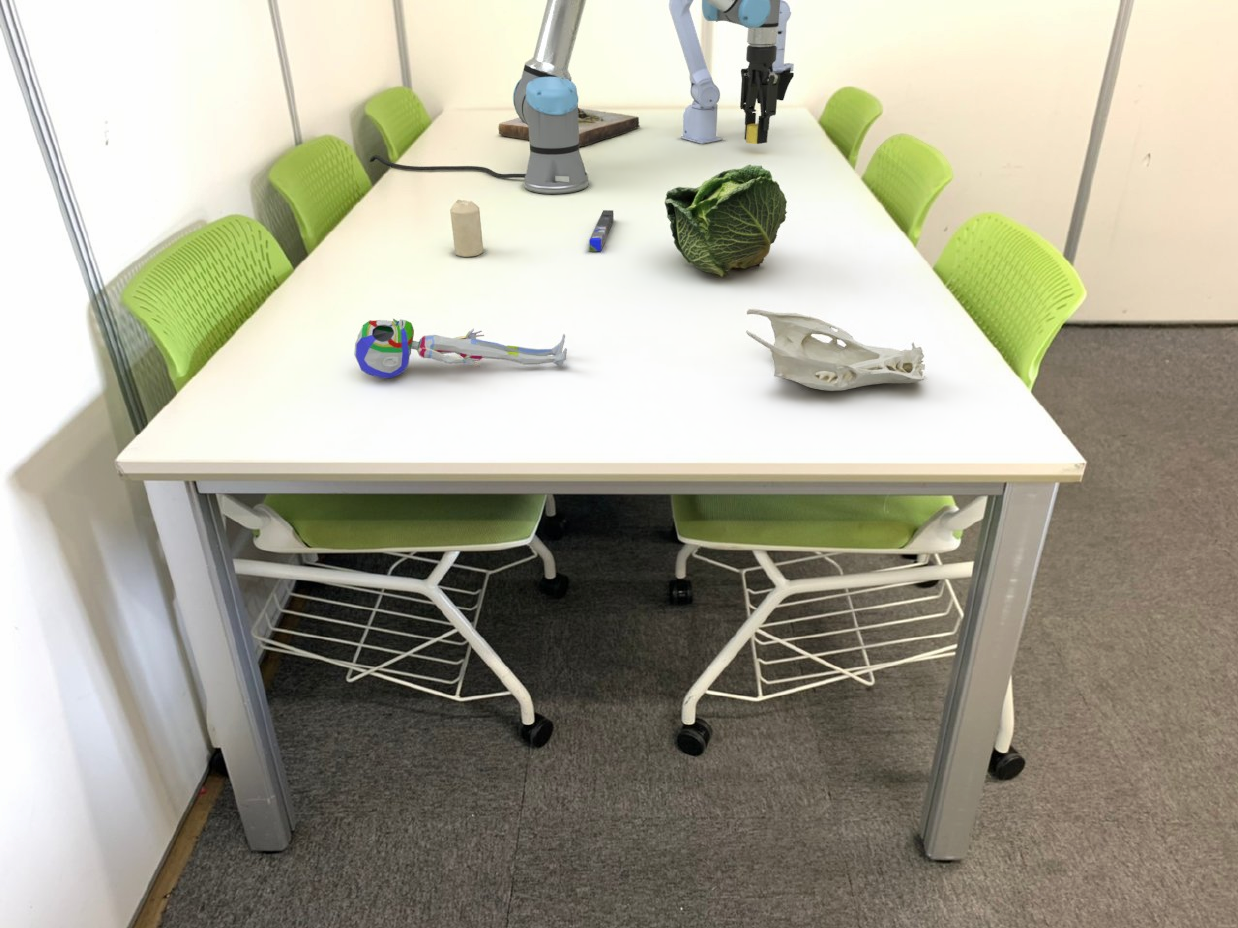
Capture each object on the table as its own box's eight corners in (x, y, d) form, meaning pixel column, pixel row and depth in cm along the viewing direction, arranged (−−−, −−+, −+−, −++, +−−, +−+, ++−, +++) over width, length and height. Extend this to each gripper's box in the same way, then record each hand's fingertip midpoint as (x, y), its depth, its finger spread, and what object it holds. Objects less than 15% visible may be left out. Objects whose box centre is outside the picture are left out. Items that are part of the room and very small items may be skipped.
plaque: (578, 121, 243) (496, 109, 258) (578, 149, 246) (497, 135, 261) (641, 104, 264) (562, 94, 278) (641, 129, 267) (563, 118, 282)
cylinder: (753, 145, 235) (754, 128, 233) (742, 141, 238) (743, 124, 236) (767, 142, 237) (768, 126, 235) (756, 139, 240) (757, 122, 238)
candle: (488, 249, 176) (483, 198, 171) (475, 258, 172) (470, 206, 167) (463, 246, 178) (457, 196, 173) (450, 255, 174) (443, 204, 168)
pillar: (613, 210, 190) (600, 241, 173) (613, 220, 191) (600, 251, 174) (603, 210, 190) (589, 240, 173) (603, 220, 191) (589, 251, 174)
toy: (569, 347, 126) (349, 329, 122) (563, 400, 131) (350, 385, 126) (565, 318, 135) (359, 301, 130) (559, 369, 139) (360, 354, 134)
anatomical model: (747, 299, 130) (925, 301, 126) (745, 356, 135) (916, 360, 131) (744, 342, 118) (940, 346, 114) (742, 403, 123) (930, 410, 119)
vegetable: (694, 294, 173) (643, 202, 166) (775, 239, 175) (728, 145, 167) (734, 307, 155) (678, 205, 147) (824, 245, 156) (773, 141, 149)
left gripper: (796, 47, 220) (788, 145, 233) (752, 40, 233) (747, 133, 246) (772, 50, 217) (764, 149, 230) (729, 42, 230) (724, 136, 243)
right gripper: (766, 53, 237) (762, 107, 245) (803, 47, 245) (798, 100, 252) (747, 50, 242) (744, 103, 249) (784, 45, 249) (780, 97, 257)
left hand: (755, 140), depth 238 cm, fingers closed on cylinder, 5 cm apart
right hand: (770, 101), depth 251 cm, fingers open, 7 cm apart
